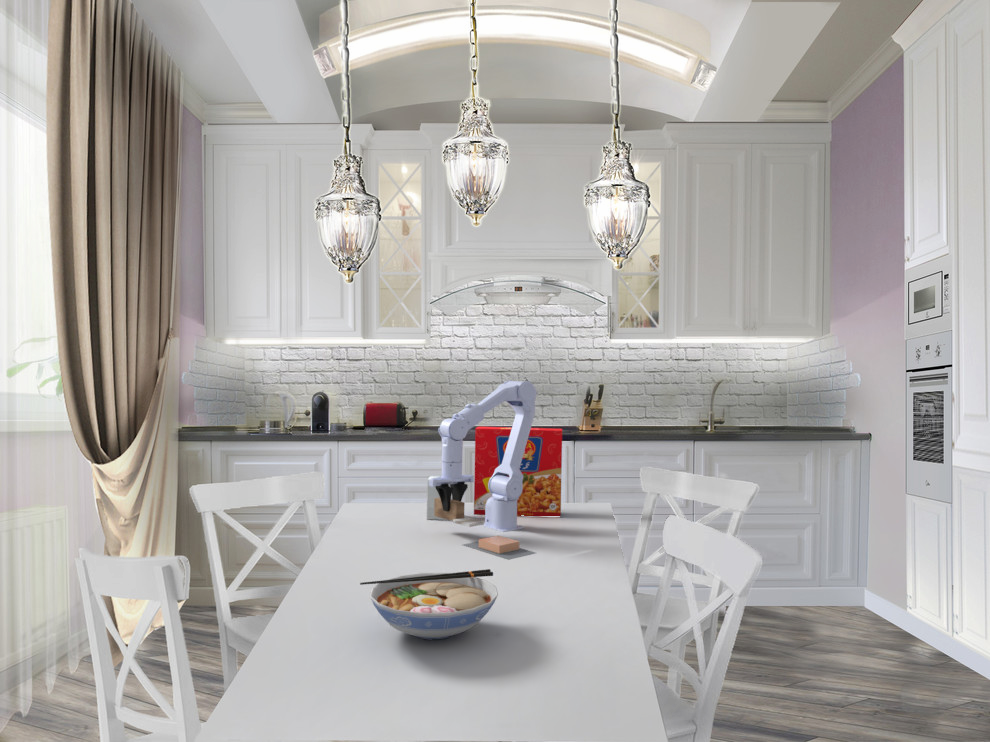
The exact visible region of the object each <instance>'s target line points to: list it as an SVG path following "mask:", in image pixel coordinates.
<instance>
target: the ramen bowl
mask: <svg viewBox="0 0 990 742" xmlns="http://www.w3.org/2000/svg"><path fill="white" fill-rule="evenodd" d="M493 576H494V572H493V571H492V570H491V569H490V568H489V569H488V568H487V569H479V570H471V571H469V570H468V571H460V572H458V571H457V572H418V573H410V574H404V575H403V574H402V575H398V576H395V577H392V578H388V579H384V580H374V581H364V582H359V585H362V586H363V585H370V584H371V585H375V584H376V585H375V586H373V587H371V591H370V594H369V598H370V600H371V602H372V604H373V606H374V607H375V609H376V610H377V612H378V613H379V615H380V616H381V617H382V618H383V619H384V620H385V621H386V622H387V623H388V624H389V625H390V626H391V627H392V628H394V629H395V630H397V631H399V632H402V633H404V634H407V635H410V636H414V637H417V638H419V639H422V640H427V641H433V640H432V639H438V640H443V638H444V639H447V638H449V636H450V637H451V636H454V635H459V634H460V633H463V632H466V631H468V630H470V629H472V628H474V627H476V626H477V625H478V624H479V623H480V622H481V620H483V618H484V617H485V616H486V615H487V613H489V612H490V610H491V608H492V607H493V605H494V604H495V602H496V600H497V598H498V596H499V593H498V589H497V586H496V585H494V584H492V583H491V582H489V581H488V580H486V579H482V577H493Z"/></svg>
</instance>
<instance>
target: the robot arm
mask: <svg viewBox="0 0 990 742" xmlns="http://www.w3.org/2000/svg"><path fill="white" fill-rule="evenodd" d="M537 394H538V391H537V389H536V387H535V386H534V384H533V382H531V381H529V380H523V381H521V380H510V379H509V380H506V381H504V382H503V383H501V384H499V385H498V386H497V388H496V389H495V390H493V391H492V392H491V393H489V394H488V395H487V396H486V397H485V398H484V399H482V400H480V401H479V402H478V403H477V404H476V403H474V402H473V403H467V404H465V406H464V408H463V409H462V410H460V411H459V412H457V413H454V414H452V417H451V418H449V417H448V418H445V419H443V420H442V422H441V423H440V426H439V427H438V429H437V431H438V434H439V436H440V437H441V443H442V444H441V447H442V449H441V476H442V477H437V478H433V479H429V486H431V487H435V488H436V490H437V492H438V494H439V496H440V499H441V502H442V507H443V510H444V511H450V500H451V499H452V500H456V501H460V502H462V500H463V497H464V495H465V493H466V491H467V490H468V486H469V485H468V484H467V483H474V479H475V474H474V475H473V474H463V446H464V445H463V444H464V443H463V442H464V440H463V439H465V438H466V436H467V434H468V431H470V430H471V429H473V428H474V427H475V426H476V425H478V424H479V423H480V422H482V421H483V420H484V417H485V414H486V413H488V412H489V411H491V410H492V409H494V408H496V407H497V406H499V405H501V404H502V403H504V402H506V403H507V404H508V405H509V406H510V408H512V409H513V411H514V413H515V416H514V420H513V424H512V429H511V433H510V436H509V440H508V443H507V447H506V450H505V454H504V457H503V461H502V464H501V465H500V466H498V467H497V468H496V469H495V471H494V474H493V476H492V477H491V478H490V480H489V483H488V488H489V491H490V492H491V493H492V497H490V498H489V499H488V500H487V502H486V506H485V515H484V518H485V519H484V525H482V526H483V527H485V528H489V529H492V530H495V531H499V532H503V533H505V532H509V531H515V530H523V529H524V527H523V526H521V525H518V522H517V521H518V516H517V500H518V499H519V496H520V495H521V493H522V490H523V485H522V481H523V474H522V473H521V471H520V469H519V468H520V465H521V461H522V458H523V454H524V451H525V447H526V443H527V440H528V436H529V433H530V429H531V428H532V425H533V422H534V418H535V414H536V398H537V396H538V395H537ZM508 476H510V477H508ZM449 484H450V486H449Z"/></svg>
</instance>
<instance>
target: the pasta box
mask: <svg viewBox="0 0 990 742" xmlns="http://www.w3.org/2000/svg"><path fill="white" fill-rule="evenodd" d="M511 429H512V427H510V426H508V427H506V426H505V427H504V426H477V427H475V430H474V433H475V435H474V436H475V437H474V482H473V484H474V489H473V515H474V516H475V515H476V516H485V506H486V502H487V500H488V499H489V498H490V497H492V493H491V492H490V491H489V488H488V483H489V480H490V478H491V477H492V476H493V474H494V471H495V469H496V468H497V467H498V466H500V465H501V464H502V461H503V457H504V454H505V450H506V447H507V443H508V440H509V436H510V433H511ZM562 458H563V428H553V427H552V428H549V427H548V428H547V427H544V428H543V427H531V429H530V433H529V436H528V440H527V443H526V447H525V451H524V454H523V458H522V461H521V465H520V468H519V469H520V471H521V473H522V474H523V481H522V485H523V490H522V493H521V495H520V496H519V499H518V500H517V517H522V516H521V515H524V516H562V514H561V513H562V467H563V466H562V460H563V459H562ZM508 477H510V476H508Z"/></svg>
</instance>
